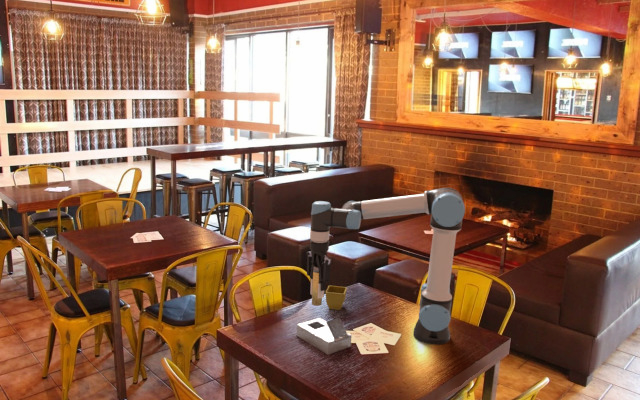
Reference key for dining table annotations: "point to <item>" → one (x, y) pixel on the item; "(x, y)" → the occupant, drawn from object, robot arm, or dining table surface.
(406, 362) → the dining table surface
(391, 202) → the robot arm
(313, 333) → the block
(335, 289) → the flower pot
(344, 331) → the ring flap
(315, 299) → the lynch pin
